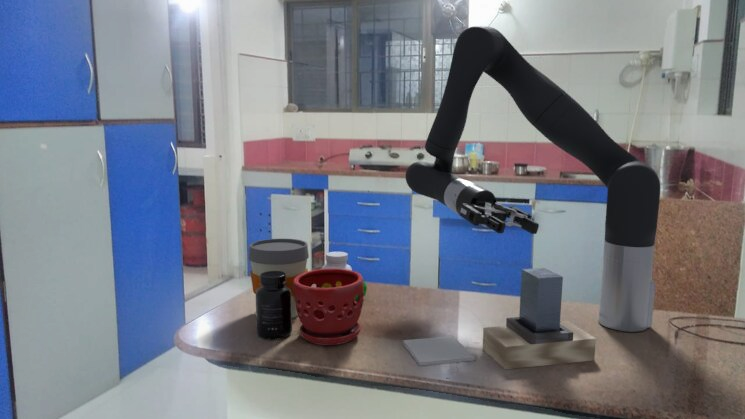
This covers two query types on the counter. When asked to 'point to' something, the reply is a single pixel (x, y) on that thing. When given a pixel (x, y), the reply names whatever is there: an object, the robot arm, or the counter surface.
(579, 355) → the tan piece
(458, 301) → the counter surface
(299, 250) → the reusable coffee cup
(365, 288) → the polyhedron
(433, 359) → the rubber mat
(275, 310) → the supplement bottle
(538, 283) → the brushed metal block
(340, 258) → the supplement bottle
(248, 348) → the counter surface
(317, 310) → the plant pot
